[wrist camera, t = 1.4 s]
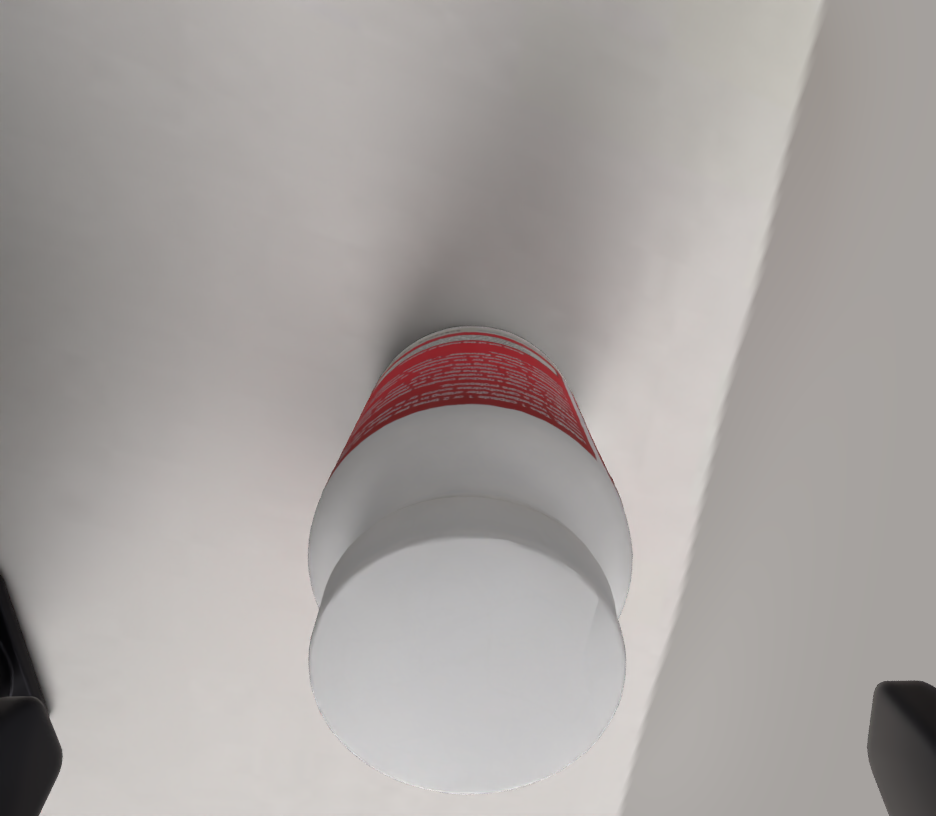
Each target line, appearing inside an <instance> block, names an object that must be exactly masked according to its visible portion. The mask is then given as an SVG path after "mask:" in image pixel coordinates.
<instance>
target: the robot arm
mask: <svg viewBox="0 0 936 816" xmlns="http://www.w3.org/2000/svg"><path fill="white" fill-rule="evenodd" d="M867 749H868V757H869V762H870V766H871V769H872V772H873V775H874V778H875V780H876V783H877V785H878V788H879V791H880V793H881V796H882V798H883V801H884V803H885V806H886V809H887V811H888V814H889V816H936V688H935V687H933V686H931V685H930V684H928V683H925V682H923V681H884V682H881V683H879V684H878V685H877V687H876V688H875V691H874V695H873V703H872V711H871V718H870V726H869V734H868V743H867ZM62 757H63V756H62V749H61V745H60V743H59V740H58V738H57V736H56V733H55V731H54V728H53V726H52V723H51V721H50V718H49V714H48V711H47V708H46V705H45V702H44V699H43V696H42V693H41V690H40V687H39V684H38V681H37V678H36V675H35V672H34V669H33V666H32V663H31V660H30V657H29V654H28V652H27V649H26V646H25V643H24V640H23V637H22V634H21V631H20V628H19V625H18V622H17V619H16V616H15V613H14V610H13V607H12V604H11V601H10V598H9V595H8V592H7V589H6V586H5V583H4V580H3V579H2V577H1V575H0V816H39V814H40V812H41V810H42V808H43V806H44V804H45V802H46V800H47V797H48V795H49V793H50V791H51V789H52V787H53V785H54V783H55V781H56V779H57V777H58V774H59V772H60V769H61V765H62Z"/></svg>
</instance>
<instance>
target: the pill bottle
mask: <svg viewBox="0 0 936 816" xmlns="http://www.w3.org/2000/svg"><path fill="white" fill-rule="evenodd" d="M632 555H633V554H632V544H631V537H630V532H629V527H628V523H627V519H626V515H625V512H624V508H623V505H622V502H621V499H620V496H619V494H618V491H617V489H616V487H615V485H614V482H613V479H612V478H611V476H610V475H609V473H608V471H607V469H606V467H605V464H604V462H603V460H602V458H601V456H600V454H599V452H598V450H597V448H596V446H595V443H594V441H593V439H592V437H591V435H590V432H589V430H588V428H587V426H586V423H585V421H584V418H583V416H582V414H581V412H580V410H579V408H578V405H577V403H576V401H575V398H574V396H573V394H572V391H571V390H570V388H569V386H568V384H567V382H566V381H565V379H564V377H563V375H562V374H561V372H560V371H559V370H558V368H557V367H556V366H555V364H554V363H553V362H552V361H551V360H550V359H549V358H548V357H547V356H546V355H545V354H544V353H543V352H542V351H540V350H539V349H538V348H537V347H535V346H534V345H532V344H531V343H529V342H528V341H526V340H524V339H523V338H521V337H519V336H517V335H514V334H512V333H510V332H507V331H504V330H500V329H496V328H491V327H482V326H462V327H454V328H448V329H445V330H441V331H438V332H435V333H432V334H430V335H427V336H425V337H423V338H421V339H419V340H418V341H416V342H414V343H413V344H411V345H410V346H408V347H407V348H406V349H405V350H403V351H402V352H401V353H400V354H399V355H398V356H397V357H396V358H395V359H394V360H393V361H392V362H391V363H390V365H389V366H388V367H387V368H386V370H385V371H384V373H383V374H382V376H381V377H380V379H379V380H378V382H377V384H376V386H375V388H374V389H373V391H372V393H371V396H370V398H369V400H368V401H367V403H366V405H365V407H364V409H363V411H362V413H361V415H360V417H359V419H358V421H357V423H356V425H355V427H354V430H353V432H352V433H351V435H350V437H349V439H348V442H347V444H346V446H345V448H344V450H343V452H342V454H341V456H340V458H339V460H338V462H337V464H336V466H335V468H334V469H333V471H332V473H331V475H330V477H329V480H328V482H327V484H326V486H325V488H324V489H323V492H322V495H321V498H320V500H319V503H318V505H317V508H316V511H315V515H314V518H313V522H312V525H311V530H310V537H309V548H308V566H309V576H310V581H311V586H312V590H313V593H314V596H315V599H316V602H317V605H318V607H319V612H318V616H317V619H316V622H315V626H314V629H313V632H312V636H311V641H310V648H309V675H310V682H311V687H312V691H313V694H314V698H315V700H316V703H317V706H318V708H319V711H320V713H321V714H322V716H323V718H324V719H325V721H326V723H327V725H328V726H329V728H330V729H331V731H332V732H333V733H334V734H335V735H336V736H337V738H338V739H339V740H340V742H342V743H343V744H344V745H345V746H346V747H347V749H348V750H349V751H350V752H352V753H353V754H354V755H355V756H357V757H358V758H359V759H360V760H362V761H363V762H365V763H366V764H367V765H369V766H370V767H372V768H374V769H376V770H377V771H379V772H381V773H382V774H385V775H387V776H389V777H391V778H393V779H395V780H397V781H400V782H403V783H406V784H408V785H412V786H415V787H419V788H422V789H427V790H432V791H437V792H442V793H450V794H488V793H496V792H502V791H508V790H512V789H516V788H520V787H524V786H527V785H530V784H532V783H535V782H538V781H541V780H543V779H545V778H547V777H549V776H551V775H553V774H555V773H557V772H559V771H561V770H563V769H564V768H566V767H567V766H569V765H570V764H571V763H573V762H574V761H575V760H577V759H578V758H579V757H581V756H582V755H583V754H584V753H586V752H587V751H588V750H589V749H590V748H591V747H592V746H593V745H594V744H595V742H596V741H597V740H598V739H599V738H600V736H601V735H602V733H603V732H604V731H605V729H606V728H607V726H608V725H609V723H610V721H611V719H612V718H613V716H614V714H615V712H616V710H617V707H618V705H619V703H620V700H621V696H622V691H623V686H624V681H625V675H626V653H625V645H624V641H623V636H622V632H621V628H620V624H619V621H618V619H619V617H620V615H621V612H622V609H623V607H624V604H625V601H626V598H627V595H628V591H629V586H630V582H631V574H632Z"/></svg>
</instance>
